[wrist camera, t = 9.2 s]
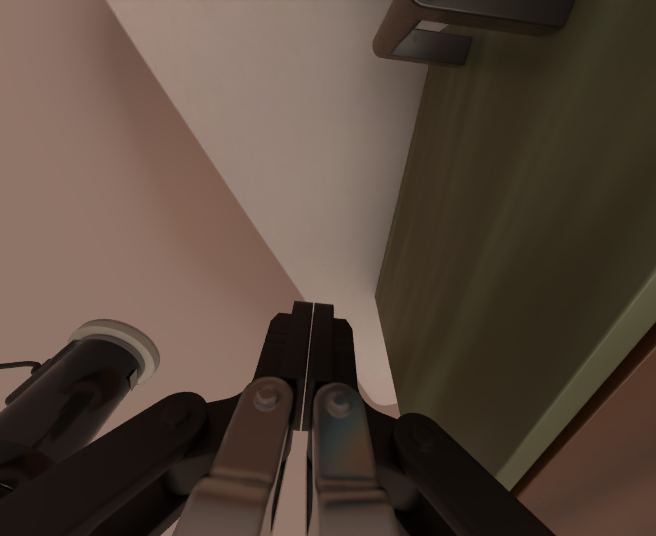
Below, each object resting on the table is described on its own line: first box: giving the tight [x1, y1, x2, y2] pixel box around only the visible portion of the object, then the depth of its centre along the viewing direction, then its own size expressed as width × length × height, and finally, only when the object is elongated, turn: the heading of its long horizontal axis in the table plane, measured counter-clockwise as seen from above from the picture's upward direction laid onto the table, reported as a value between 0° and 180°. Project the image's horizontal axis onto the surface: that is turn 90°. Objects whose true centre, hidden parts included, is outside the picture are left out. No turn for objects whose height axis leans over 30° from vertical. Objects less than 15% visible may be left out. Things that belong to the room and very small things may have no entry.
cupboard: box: [510, 322, 656, 536], centre depth 19 cm, size 18×26×24 cm
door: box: [372, 0, 656, 492], centre depth 19 cm, size 7×26×24 cm, turn 173°
